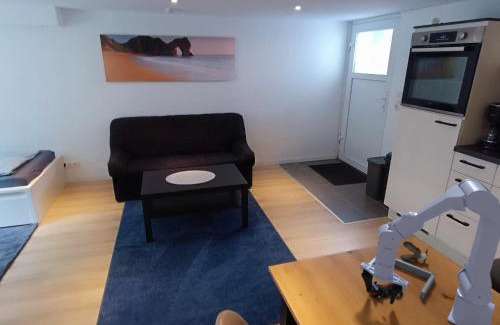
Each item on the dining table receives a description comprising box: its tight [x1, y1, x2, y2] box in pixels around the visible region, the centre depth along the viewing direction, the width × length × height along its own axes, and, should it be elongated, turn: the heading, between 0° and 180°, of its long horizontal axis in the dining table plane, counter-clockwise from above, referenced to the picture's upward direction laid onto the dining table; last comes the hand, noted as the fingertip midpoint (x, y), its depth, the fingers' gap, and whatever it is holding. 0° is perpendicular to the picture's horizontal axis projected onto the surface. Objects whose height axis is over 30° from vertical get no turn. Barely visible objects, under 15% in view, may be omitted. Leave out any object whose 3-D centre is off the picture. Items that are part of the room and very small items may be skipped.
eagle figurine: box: [399, 240, 430, 264], centre depth 120 cm, size 8×7×9 cm
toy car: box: [368, 280, 404, 299], centre depth 104 cm, size 6×12×4 cm, turn 97°
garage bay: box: [368, 255, 436, 299], centre depth 111 cm, size 20×13×2 cm, turn 45°
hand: (380, 296), depth 99 cm, fingers open, 7 cm apart
